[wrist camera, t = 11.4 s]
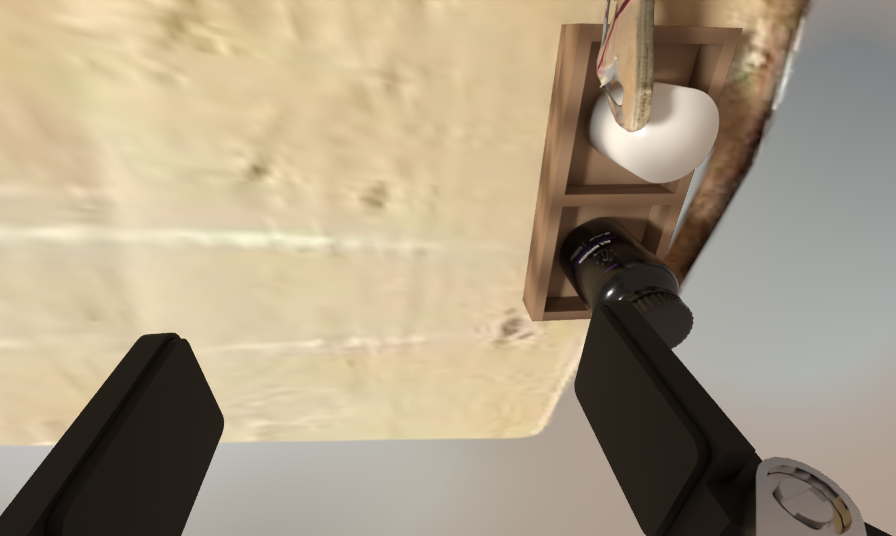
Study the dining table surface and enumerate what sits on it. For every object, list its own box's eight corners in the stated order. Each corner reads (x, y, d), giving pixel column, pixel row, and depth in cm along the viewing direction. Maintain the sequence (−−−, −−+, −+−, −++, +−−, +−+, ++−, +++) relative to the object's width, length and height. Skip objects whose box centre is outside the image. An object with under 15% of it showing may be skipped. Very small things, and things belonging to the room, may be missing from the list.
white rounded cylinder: (594, 77, 30) (641, 87, 24) (668, 78, 31) (733, 88, 25) (579, 156, 33) (618, 183, 27) (647, 156, 34) (700, 182, 28)
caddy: (561, 24, 29) (580, 23, 26) (708, 29, 30) (742, 28, 27) (522, 300, 41) (532, 321, 38) (627, 296, 42) (645, 316, 39)
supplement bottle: (571, 210, 35) (640, 282, 25) (638, 222, 37) (730, 295, 26) (546, 275, 39) (598, 362, 28) (608, 284, 40) (680, 370, 30)
